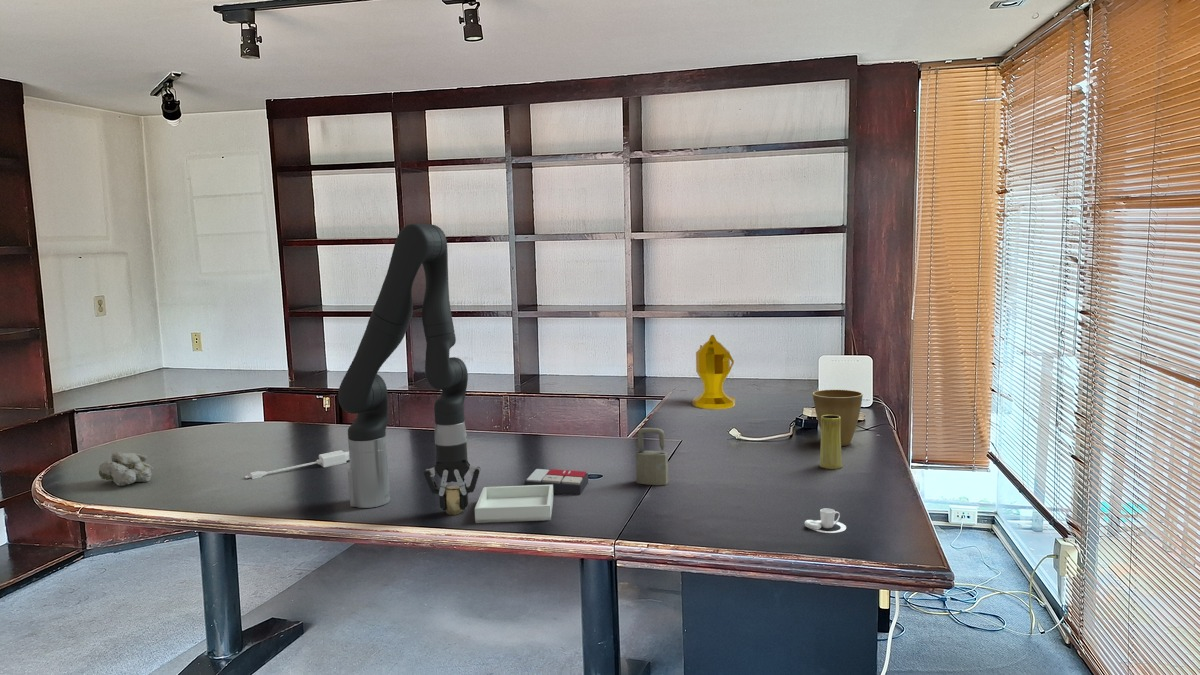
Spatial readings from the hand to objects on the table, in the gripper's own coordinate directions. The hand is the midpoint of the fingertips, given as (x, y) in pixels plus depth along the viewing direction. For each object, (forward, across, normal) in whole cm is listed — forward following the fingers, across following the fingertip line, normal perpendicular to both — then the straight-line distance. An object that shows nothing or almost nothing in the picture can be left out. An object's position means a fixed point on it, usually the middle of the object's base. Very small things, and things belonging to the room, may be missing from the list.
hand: (454, 508), depth 190 cm
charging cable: (+1, -52, +46) cm, 69 cm away
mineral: (+1, -100, +37) cm, 107 cm away
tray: (+1, +15, 0) cm, 15 cm away
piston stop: (+1, 0, 0) cm, 1 cm away
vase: (+1, +101, +27) cm, 105 cm away
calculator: (+1, +24, +17) cm, 30 cm away
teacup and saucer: (+1, +84, -17) cm, 86 cm away
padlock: (+1, +50, +18) cm, 53 cm away
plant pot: (+1, +111, +52) cm, 123 cm away
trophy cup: (+1, +84, +119) cm, 146 cm away
